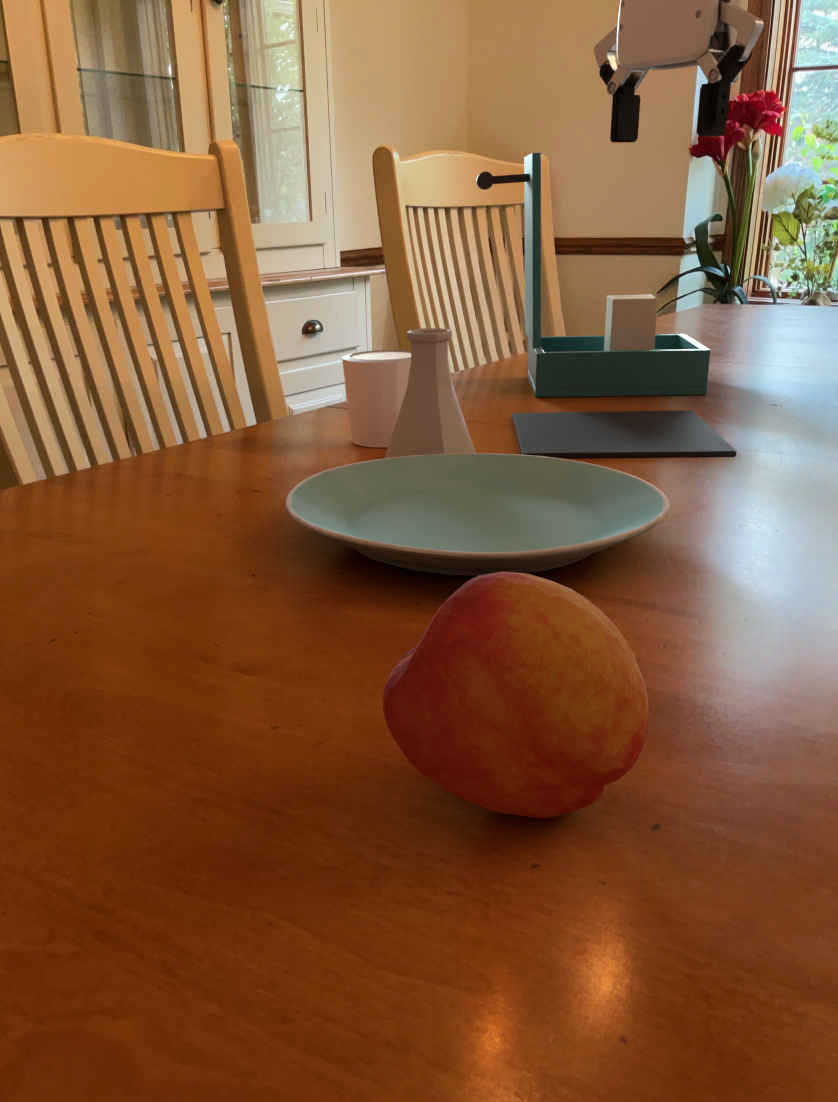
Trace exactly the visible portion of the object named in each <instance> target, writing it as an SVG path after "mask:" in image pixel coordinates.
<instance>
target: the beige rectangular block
mask: <svg viewBox="0 0 838 1102" xmlns="http://www.w3.org/2000/svg"><path fill="white" fill-rule="evenodd" d="M658 304H659V298H658V297H657V296H654V295H653V294H648V293H647V294H646V293H645V294H642V293H641V294H607V295H606V307H605V323H604V324H605V325H604V335H605V341H604V351H623V350H654V346H655V334H657V333H656V331H657V318H658V307H659V305H658Z"/></svg>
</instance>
